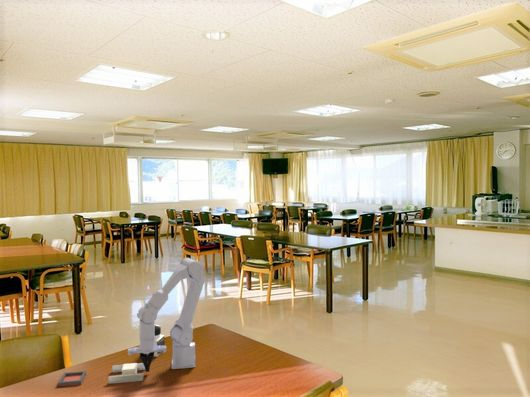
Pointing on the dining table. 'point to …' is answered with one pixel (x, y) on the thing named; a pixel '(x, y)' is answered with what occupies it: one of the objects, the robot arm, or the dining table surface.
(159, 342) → the medicine bottle
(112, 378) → the channel
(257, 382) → the dining table surface
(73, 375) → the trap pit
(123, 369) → the block
